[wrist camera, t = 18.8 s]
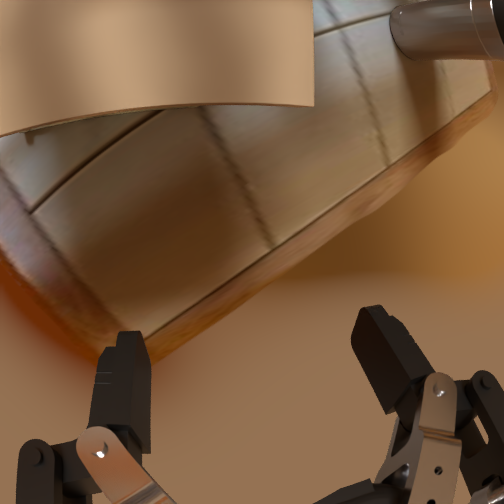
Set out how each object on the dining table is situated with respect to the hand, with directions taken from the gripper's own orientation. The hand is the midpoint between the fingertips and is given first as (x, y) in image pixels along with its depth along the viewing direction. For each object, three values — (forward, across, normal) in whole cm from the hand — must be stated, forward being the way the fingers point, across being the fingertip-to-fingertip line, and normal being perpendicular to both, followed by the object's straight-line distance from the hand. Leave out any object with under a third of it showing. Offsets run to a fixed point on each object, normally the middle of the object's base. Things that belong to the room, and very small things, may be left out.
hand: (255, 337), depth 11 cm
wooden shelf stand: (+24, +10, -13) cm, 29 cm away
